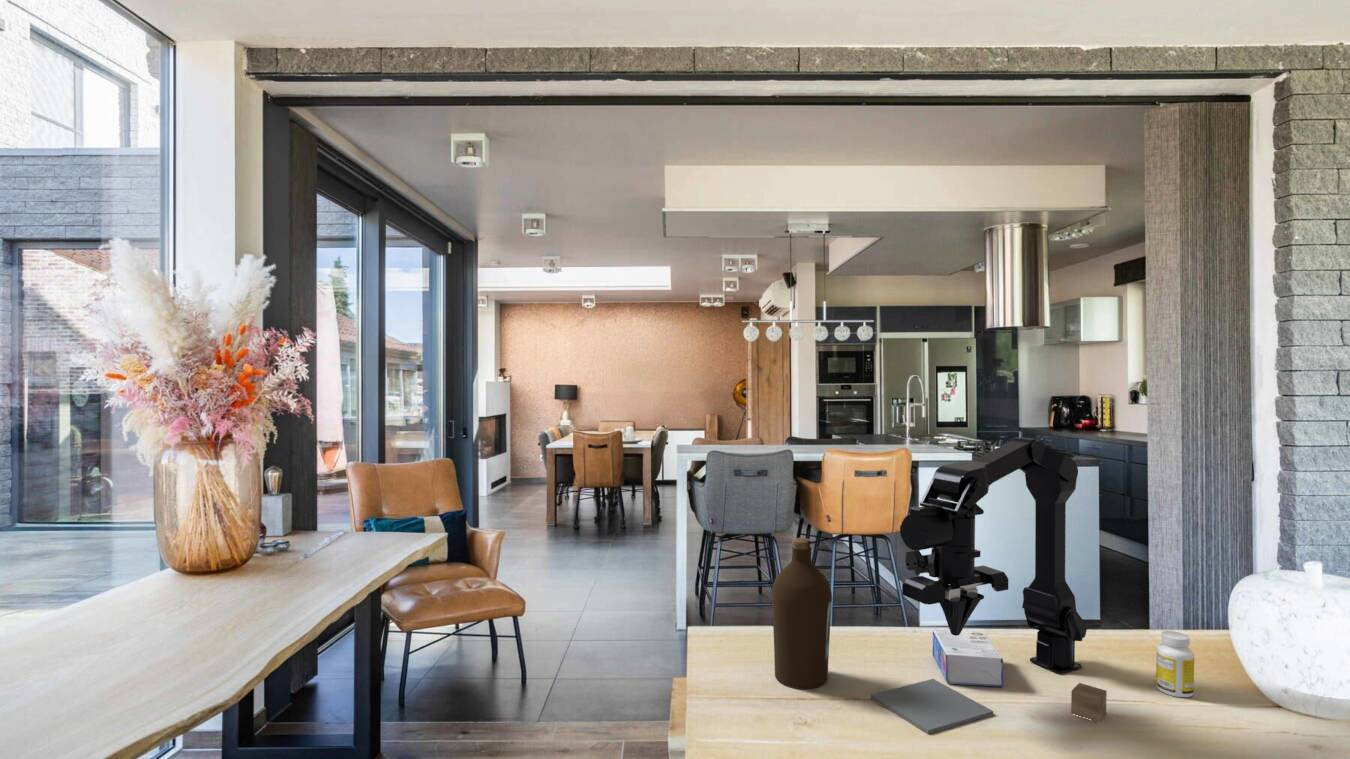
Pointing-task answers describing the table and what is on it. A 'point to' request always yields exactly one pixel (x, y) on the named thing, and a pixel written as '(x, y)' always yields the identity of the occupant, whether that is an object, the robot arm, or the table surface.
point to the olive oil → (801, 621)
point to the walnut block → (1088, 702)
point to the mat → (931, 705)
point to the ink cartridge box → (967, 658)
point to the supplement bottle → (1175, 665)
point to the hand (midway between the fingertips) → (955, 634)
